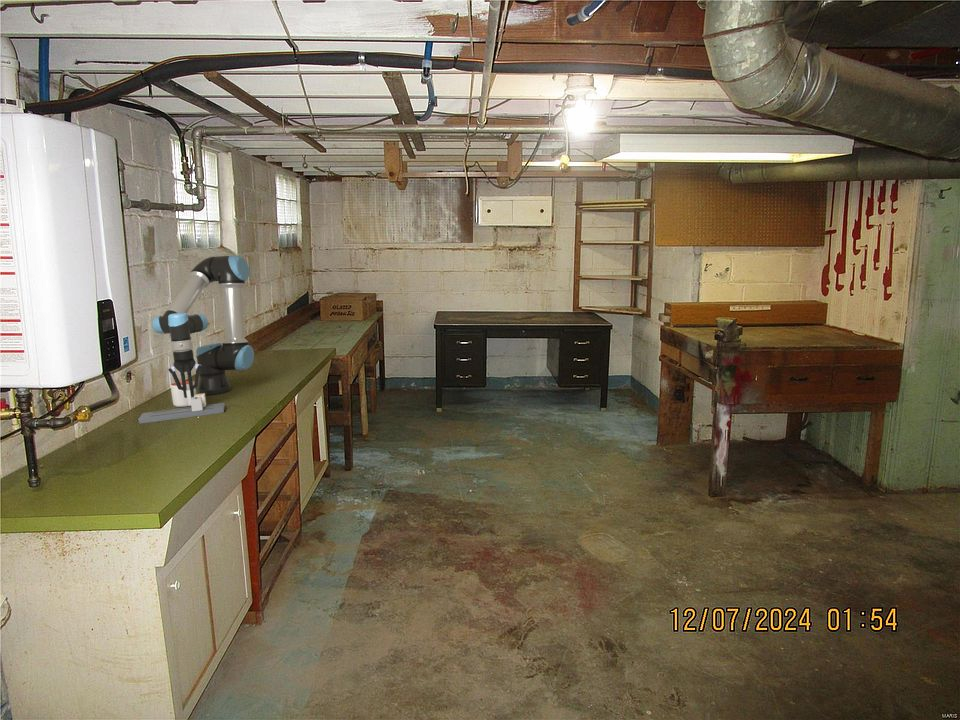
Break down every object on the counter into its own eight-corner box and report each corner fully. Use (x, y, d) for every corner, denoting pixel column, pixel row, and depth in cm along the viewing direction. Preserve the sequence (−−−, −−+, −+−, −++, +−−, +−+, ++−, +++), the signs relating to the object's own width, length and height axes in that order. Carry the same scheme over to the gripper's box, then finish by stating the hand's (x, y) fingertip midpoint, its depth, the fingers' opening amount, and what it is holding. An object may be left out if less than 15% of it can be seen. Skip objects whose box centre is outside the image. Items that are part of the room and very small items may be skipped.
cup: (176, 409, 279) (172, 386, 277) (171, 405, 287) (168, 383, 285) (200, 404, 285) (197, 382, 283) (194, 400, 293) (191, 379, 291)
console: (143, 417, 267) (142, 413, 267) (224, 407, 277) (224, 402, 277) (139, 423, 258) (138, 418, 258) (223, 412, 268) (223, 407, 268)
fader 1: (196, 405, 273) (194, 394, 273) (206, 404, 275) (204, 392, 274) (195, 407, 270) (193, 396, 269) (205, 406, 271) (204, 394, 270)
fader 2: (192, 409, 268) (191, 397, 267) (203, 408, 269) (201, 396, 268) (192, 411, 264) (190, 399, 263) (202, 410, 265) (200, 398, 264)
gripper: (164, 353, 261) (172, 408, 265) (198, 349, 265) (206, 404, 269) (166, 350, 268) (174, 404, 272) (200, 347, 272) (207, 400, 276)
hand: (190, 404), depth 271 cm, fingers closed
